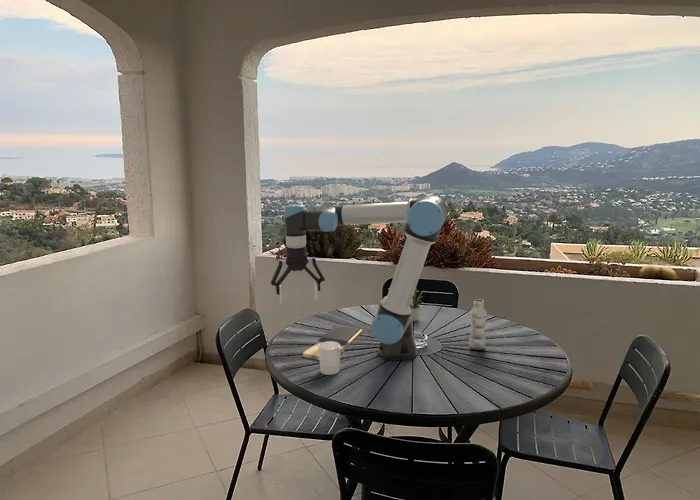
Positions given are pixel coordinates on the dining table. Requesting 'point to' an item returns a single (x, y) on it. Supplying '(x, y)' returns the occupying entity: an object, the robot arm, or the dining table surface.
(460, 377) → the dining table surface
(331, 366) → the white cup
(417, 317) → the house plant
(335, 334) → the black book
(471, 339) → the plastic bottle
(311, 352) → the oak coaster board
